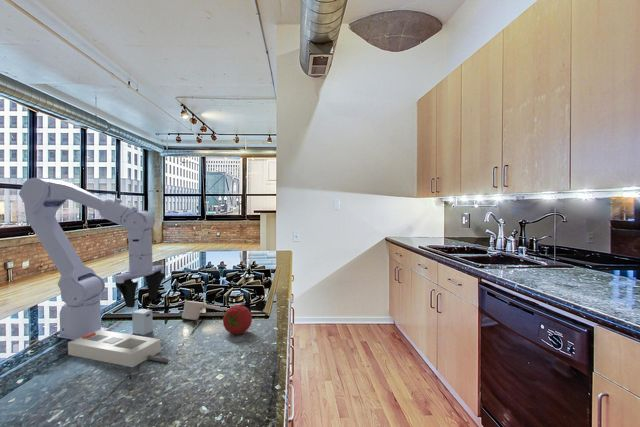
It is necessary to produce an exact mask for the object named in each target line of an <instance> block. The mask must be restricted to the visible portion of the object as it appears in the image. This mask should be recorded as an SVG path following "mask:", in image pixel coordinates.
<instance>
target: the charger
mask: <svg viewBox="0 0 640 427" xmlns="http://www.w3.org/2000/svg"><path fill="white" fill-rule="evenodd" d="M131 315H132V317H131V318H132V333H133V335H140V336H145V335H147V334H149V333H151V332H153V331H154V330H153V328H154V325H153V324H154V322H153V310H152V309H146V308H139V309H136V310H134V311H132V314H131Z"/></svg>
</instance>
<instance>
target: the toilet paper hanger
mask: <svg viewBox="0 0 640 427" xmlns="http://www.w3.org/2000/svg"><path fill="white" fill-rule="evenodd" d="M183 306H184V307H183V311H182V314H181V318H182V319H186V320H199V318H200V314H201V309H213V310H219V311H225V312H226V311H227V310H228V309H229V308H227V307H220V306H215V305H210V304H207V303H203V302H199V301H193V300H185V301H184V305H183Z"/></svg>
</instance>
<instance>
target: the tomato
mask: <svg viewBox="0 0 640 427" xmlns="http://www.w3.org/2000/svg"><path fill="white" fill-rule="evenodd" d="M252 317H253V316H252V313H251V311H250V309H249V308H248V307H246V306H245V305H240V304H239V305H238V304H236V305H235V304H234V305H232V306H230V308H229V309H228V310H227V311H225V312H224V314H223V318H222V323H223V327H224V329H225V331H227V332H228V333H229V334H231V335H238V336H239V335H242V334H244V333H245V332H247V331H248V329H249V328H250V327H251V325H252V321H253V318H252Z"/></svg>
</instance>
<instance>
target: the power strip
mask: <svg viewBox="0 0 640 427" xmlns="http://www.w3.org/2000/svg"><path fill="white" fill-rule="evenodd" d="M161 345H162V344H161V339H160V338H154V337H147V336H143V335H137V334H130V333H123V332H116V331H109V330H108V331H105V330H98V331H95V332H90V333H88V334H85V335H83V336H82V337H80V338H78V339H75V340H70V341H68V342H67V350H68V351H67V354H68V356H73V357H78V358H79V357H80V358H84V359H88V360H93V361H98V362H102V363H108V364H114V365H119V366H124V367H128V368H129V367H130V368H134V367H136V366H138V365H139V364H141V363H143V362H144V361H146V360H150V361H155V362H160V363H165V364H167V363H168V362H170V361H169V360H170V359H169V357H168V358H167V357H165V356H157V354H159V353H161V350H162V349H161V347H162V346H161Z"/></svg>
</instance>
